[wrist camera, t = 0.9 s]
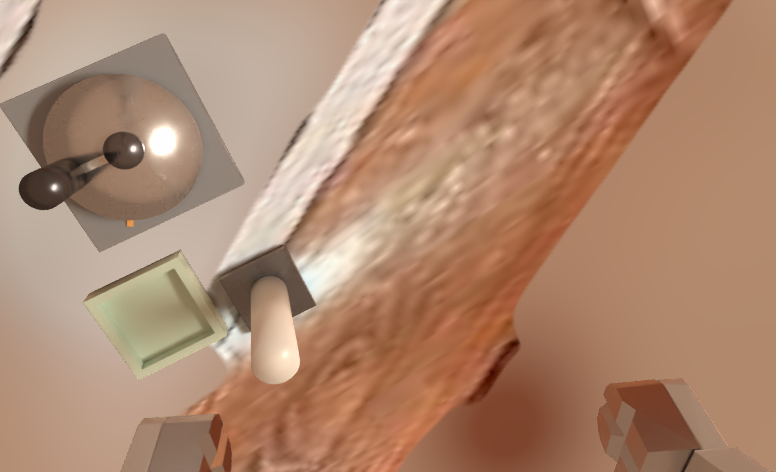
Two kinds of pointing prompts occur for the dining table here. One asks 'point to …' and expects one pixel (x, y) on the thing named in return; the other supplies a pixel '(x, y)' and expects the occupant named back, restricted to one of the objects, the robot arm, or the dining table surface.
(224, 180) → the crank base
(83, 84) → the crank
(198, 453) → the robot arm
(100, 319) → the tray
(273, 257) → the socket plate
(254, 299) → the pin
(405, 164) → the dining table surface
